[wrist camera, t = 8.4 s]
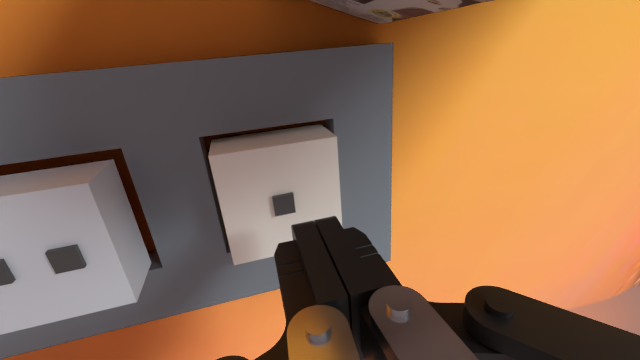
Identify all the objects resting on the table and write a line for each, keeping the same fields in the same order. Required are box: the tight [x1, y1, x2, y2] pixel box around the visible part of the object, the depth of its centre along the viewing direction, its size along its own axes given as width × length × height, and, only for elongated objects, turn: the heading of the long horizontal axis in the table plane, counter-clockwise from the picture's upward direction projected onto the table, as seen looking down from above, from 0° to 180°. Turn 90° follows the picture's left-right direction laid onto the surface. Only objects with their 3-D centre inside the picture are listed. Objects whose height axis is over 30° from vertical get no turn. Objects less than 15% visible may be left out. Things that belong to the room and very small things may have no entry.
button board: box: [0, 43, 393, 359], centre depth 14 cm, size 30×12×2 cm, turn 95°
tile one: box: [208, 124, 342, 265], centre depth 15 cm, size 5×5×3 cm
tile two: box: [0, 159, 151, 335], centre depth 12 cm, size 5×5×3 cm
